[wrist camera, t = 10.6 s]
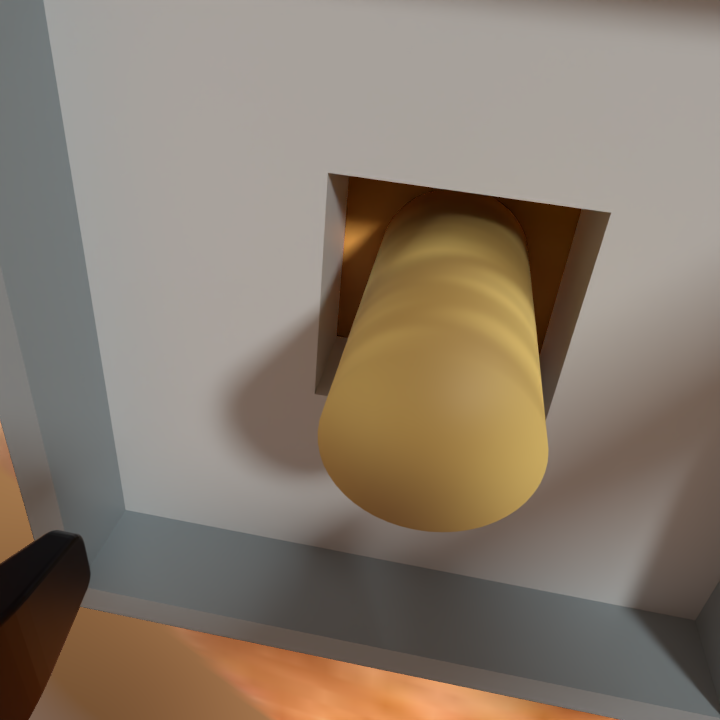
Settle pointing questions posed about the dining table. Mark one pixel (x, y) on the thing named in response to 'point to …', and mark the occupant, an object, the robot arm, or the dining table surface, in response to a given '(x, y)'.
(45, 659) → the robot arm
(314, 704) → the dining table surface
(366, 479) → the yellow peg
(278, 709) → the dining table surface
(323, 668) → the dining table surface
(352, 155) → the slate box
